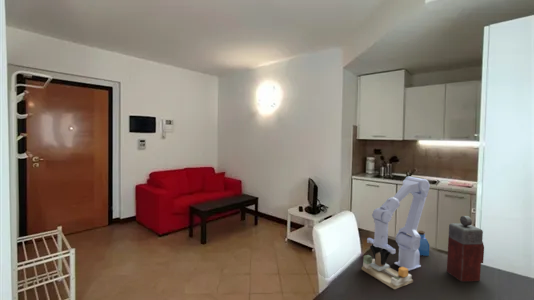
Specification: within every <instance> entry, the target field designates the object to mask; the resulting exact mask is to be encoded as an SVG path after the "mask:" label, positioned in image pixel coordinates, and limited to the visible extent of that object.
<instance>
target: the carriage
mask: <svg viewBox="0 0 534 300" xmlns="http://www.w3.org/2000/svg"><path fill="white" fill-rule="evenodd" d="M370 266H371V267H373V268H374V269H376V270H378V271H381V270H384V269H387V268H391V265H390V264H388V263H386V264H385V265H381V255H380V252H379V253H376V255H375V263H371V264H370Z"/></svg>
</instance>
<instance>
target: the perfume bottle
mask: <svg viewBox="0 0 534 300" xmlns="http://www.w3.org/2000/svg"><path fill="white" fill-rule="evenodd" d="M417 232H418V234H419V235H420V237H421V238H420V247H419V249H418V250H419V253H420V256H422V255H423V256H425V257H430V243H429V241H428V239H427V238H426V232H425V231H423V230H418V231H417Z"/></svg>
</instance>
